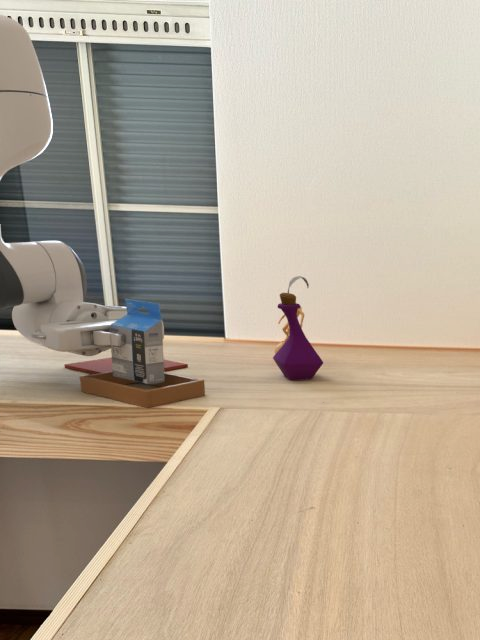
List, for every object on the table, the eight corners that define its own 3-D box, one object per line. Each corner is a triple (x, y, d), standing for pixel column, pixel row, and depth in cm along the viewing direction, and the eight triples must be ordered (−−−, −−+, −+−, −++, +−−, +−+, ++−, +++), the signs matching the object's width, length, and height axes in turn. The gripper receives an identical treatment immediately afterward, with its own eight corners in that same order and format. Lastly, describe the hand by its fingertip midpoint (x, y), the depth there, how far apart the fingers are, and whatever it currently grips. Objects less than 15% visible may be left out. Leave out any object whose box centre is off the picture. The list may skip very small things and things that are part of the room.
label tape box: (111, 377, 119) (104, 299, 115) (132, 373, 122) (126, 298, 118) (146, 385, 115) (140, 305, 110) (167, 381, 118) (162, 303, 113)
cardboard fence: (147, 407, 111) (146, 391, 110) (81, 391, 119) (79, 376, 118) (205, 395, 120) (204, 380, 119) (140, 380, 128) (138, 366, 127)
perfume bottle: (284, 382, 130) (281, 277, 124) (273, 374, 137) (270, 274, 130) (323, 380, 133) (323, 277, 127) (310, 372, 140) (310, 274, 133)
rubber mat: (118, 379, 129) (117, 376, 129) (64, 367, 137) (64, 364, 137) (188, 367, 141) (187, 364, 141) (135, 356, 149) (134, 354, 149)
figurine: (265, 359, 151) (264, 299, 146) (290, 357, 154) (289, 298, 150) (287, 366, 145) (286, 304, 141) (312, 363, 149) (312, 302, 144)
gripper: (22, 313, 114) (75, 323, 107) (131, 306, 130) (183, 314, 123) (27, 354, 116) (79, 366, 109) (134, 341, 132) (186, 351, 125)
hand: (135, 338), depth 116 cm, fingers closed on label tape box, 4 cm apart
